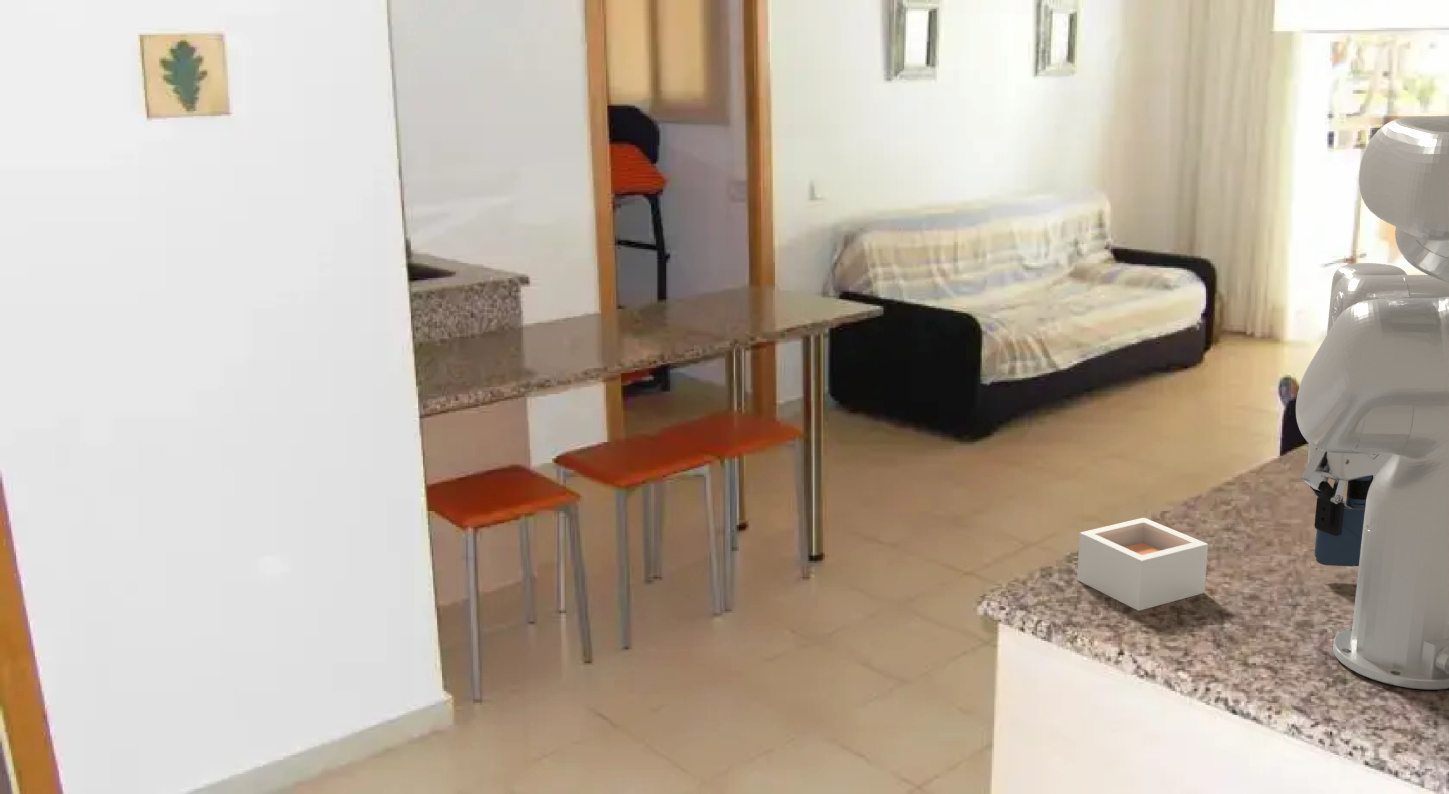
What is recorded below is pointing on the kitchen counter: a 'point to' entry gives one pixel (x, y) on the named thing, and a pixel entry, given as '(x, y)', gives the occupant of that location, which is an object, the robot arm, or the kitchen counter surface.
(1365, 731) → the kitchen counter surface
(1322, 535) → the vaping device
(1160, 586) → the white hollow square box
